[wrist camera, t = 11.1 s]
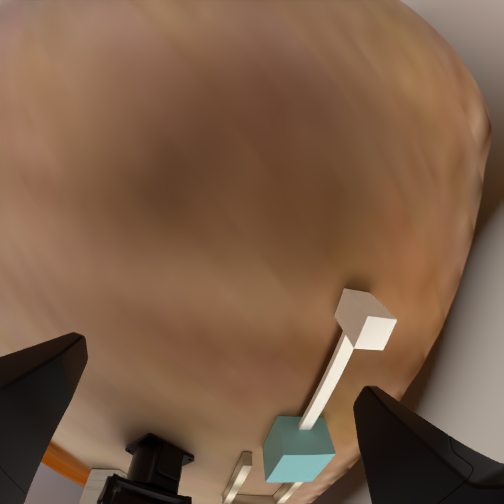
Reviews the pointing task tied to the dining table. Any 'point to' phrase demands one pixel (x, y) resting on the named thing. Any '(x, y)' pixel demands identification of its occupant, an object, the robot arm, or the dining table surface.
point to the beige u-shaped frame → (231, 500)
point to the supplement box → (97, 484)
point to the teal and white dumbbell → (325, 394)
